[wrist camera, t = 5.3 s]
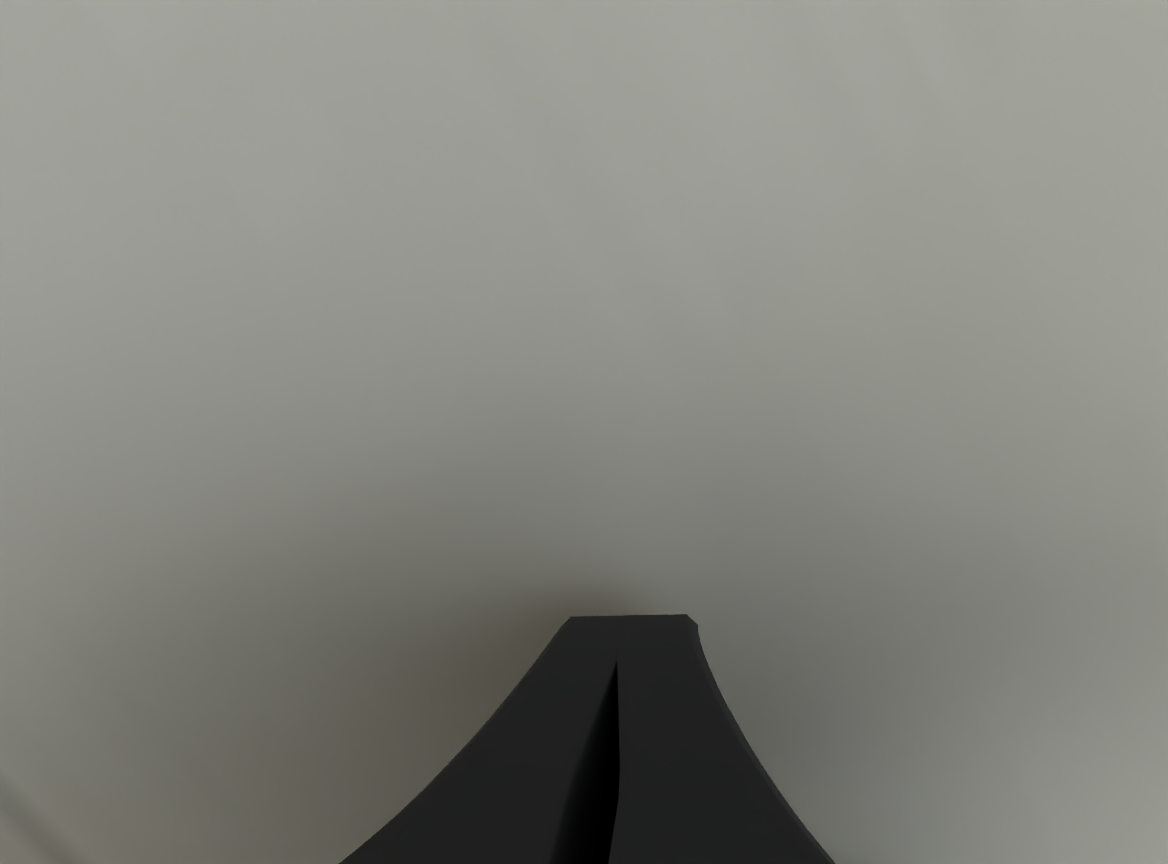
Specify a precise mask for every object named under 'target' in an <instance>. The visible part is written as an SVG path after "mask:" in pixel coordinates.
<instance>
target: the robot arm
mask: <svg viewBox="0 0 1168 864" xmlns="http://www.w3.org/2000/svg"><path fill="white" fill-rule="evenodd" d="M339 864H835V863H834V862H833V860H832V859H831V858H830V857H829V855H828V854H827V853H826V852H825V851H824V849H823V848H822V847H821V846H820V844H819V843H818V842H817V841H816V840H815V838H814V837H813V836H812V835H811V833H810V832H809V831H808V830H807V828H806V827H805V826H804V824H803V823H802V822H801V820H800V819H799V818H798V816H797V815H796V814H795V813H794V811H793V810H792V808H791V807H790V806H789V804H788V803H787V801H786V800H785V799H784V797H783V796H782V795H781V793H780V792H779V790H778V789H777V787H776V786H775V784H774V783H773V781H772V780H771V778H770V777H769V775H768V774H767V772H766V771H765V769H764V768H763V766H762V765H761V763H760V762H759V760H758V758H757V757H756V755H755V753H754V752H753V750H752V749H751V747H750V745H749V744H748V742H747V740H746V739H745V737H744V735H743V733H742V731H741V730H740V728H739V726H738V724H737V722H736V721H735V719H734V717H733V715H732V713H731V712H730V710H729V708H728V706H727V704H726V703H725V700H724V698H723V696H722V694H721V692H720V690H719V688H718V686H717V684H716V682H715V679H714V677H713V675H712V672H711V670H710V668H709V666H708V663H707V660H706V658H705V655H704V652H703V649H702V646H701V642H700V638H699V634H698V624H697V623H695V622H694V621H693V620H692V619H691V618H690V617H689V616H688V615H687V614H675V615H629V616H582V617H570V618H569V619H568V620H567V621H566V622H565V623H564V624H563V625H562V626H561V627H560V629H559V630H558V632H557V633H556V634H555V636H554V637H553V638H552V640H551V641H550V642H549V644H548V645H547V647H546V648H545V649H544V651H543V652H542V653H541V655H540V656H539V657H538V659H537V660H536V661H535V663H534V664H533V665H532V667H531V668H530V669H529V670H528V672H527V673H526V674H525V676H524V677H523V678H522V679H521V681H520V682H519V683H518V685H517V686H516V687H515V688H514V690H513V691H512V692H511V693H510V694H509V696H508V697H507V698H506V699H505V700H504V702H503V703H502V704H501V705H500V706H499V708H498V709H497V710H496V711H495V712H494V714H493V715H492V716H491V717H490V718H489V720H488V721H487V722H486V723H485V724H484V725H483V727H482V728H481V729H480V730H479V731H478V732H477V734H476V735H475V736H474V737H473V738H472V739H471V740H470V741H469V743H468V744H467V745H466V746H465V747H464V748H463V749H462V750H461V751H460V752H459V753H458V754H457V755H456V756H455V757H454V758H453V759H452V760H451V761H450V762H449V764H448V765H447V766H446V767H445V768H444V769H443V770H442V771H441V772H440V773H439V774H438V775H437V776H436V777H435V778H434V779H433V780H432V781H431V782H430V783H429V784H428V786H427V787H426V788H425V789H424V790H423V791H422V792H421V793H420V794H418V795H417V796H416V797H415V798H414V799H413V800H412V801H411V802H410V803H409V804H408V805H407V806H406V807H405V808H404V809H403V810H402V811H401V812H400V813H398V814H397V815H396V816H395V817H394V818H393V819H392V820H391V821H390V822H389V823H387V824H386V825H385V826H384V827H383V828H382V829H380V830H379V831H378V832H377V833H376V834H374V835H373V836H372V837H371V838H370V839H369V840H367V841H366V842H365V843H364V844H363V845H362V846H360V847H359V848H358V849H357V850H355V851H354V852H353V853H352V854H350V855H349V856H348V857H347V858H345V859H344V860H343V861H342V862H340V863H339Z"/></svg>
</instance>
